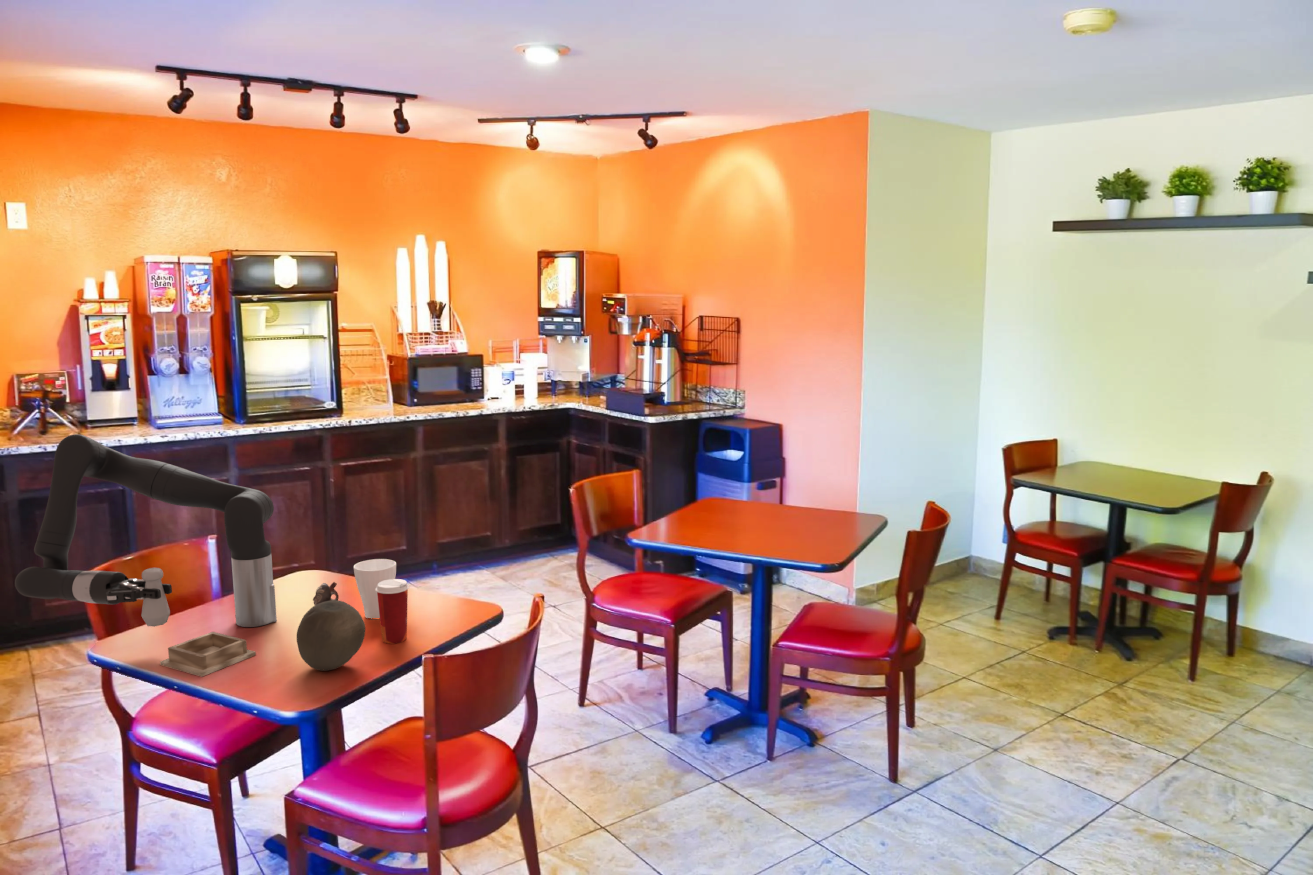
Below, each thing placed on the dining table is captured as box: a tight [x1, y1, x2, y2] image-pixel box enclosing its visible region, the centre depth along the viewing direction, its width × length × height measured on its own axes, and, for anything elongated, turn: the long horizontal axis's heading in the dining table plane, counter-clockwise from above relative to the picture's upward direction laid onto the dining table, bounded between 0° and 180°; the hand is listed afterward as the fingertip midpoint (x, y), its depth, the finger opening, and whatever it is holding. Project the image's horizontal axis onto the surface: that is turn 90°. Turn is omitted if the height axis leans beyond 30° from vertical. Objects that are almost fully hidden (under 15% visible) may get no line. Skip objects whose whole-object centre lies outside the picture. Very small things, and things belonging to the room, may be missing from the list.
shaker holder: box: [159, 631, 257, 678], centre depth 213 cm, size 14×14×4 cm
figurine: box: [312, 581, 339, 606], centre depth 231 cm, size 7×7×12 cm
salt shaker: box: [141, 567, 171, 628], centre depth 217 cm, size 6×6×13 cm
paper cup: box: [376, 578, 410, 644], centre depth 225 cm, size 8×8×14 cm
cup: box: [353, 558, 397, 620], centre depth 242 cm, size 10×10×14 cm
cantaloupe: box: [296, 600, 366, 672], centre depth 208 cm, size 14×14×15 cm
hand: (165, 591), depth 216 cm, fingers closed on salt shaker, 3 cm apart
